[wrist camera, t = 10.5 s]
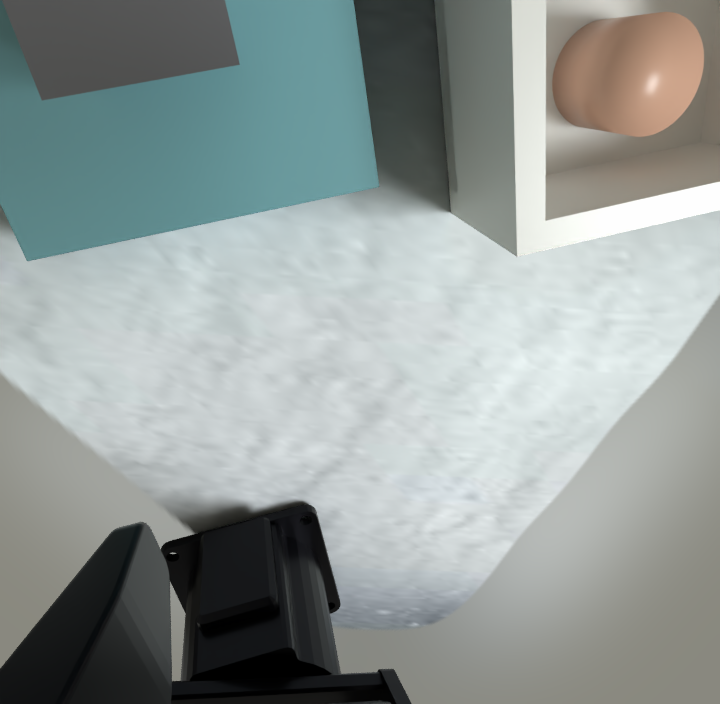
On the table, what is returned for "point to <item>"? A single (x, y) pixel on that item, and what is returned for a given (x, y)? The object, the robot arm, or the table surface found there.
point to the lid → (174, 114)
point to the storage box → (579, 115)
